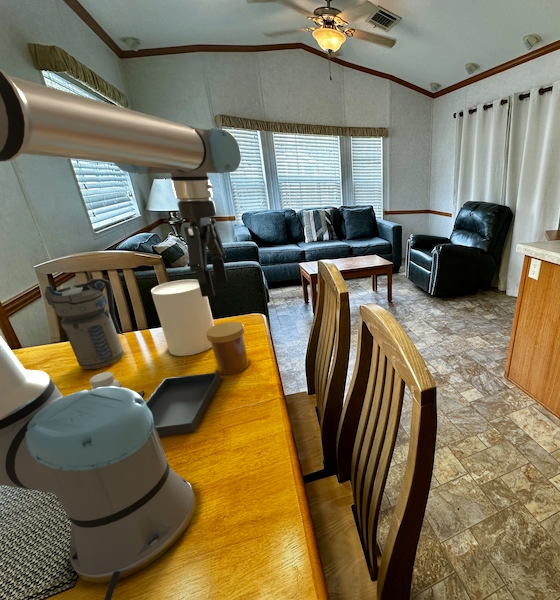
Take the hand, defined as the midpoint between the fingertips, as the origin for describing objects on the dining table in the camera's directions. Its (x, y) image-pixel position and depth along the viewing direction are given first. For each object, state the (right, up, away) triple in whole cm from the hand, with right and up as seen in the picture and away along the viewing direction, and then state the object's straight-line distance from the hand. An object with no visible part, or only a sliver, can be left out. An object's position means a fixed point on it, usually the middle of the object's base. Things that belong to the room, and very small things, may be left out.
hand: (215, 288), depth 85 cm
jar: (0, -22, +9) cm, 24 cm away
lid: (0, -11, +5) cm, 12 cm away
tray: (-5, -28, -7) cm, 30 cm away
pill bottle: (-19, -29, -9) cm, 36 cm away
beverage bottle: (-39, -21, +12) cm, 46 cm away
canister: (-19, -18, +21) cm, 33 cm away
